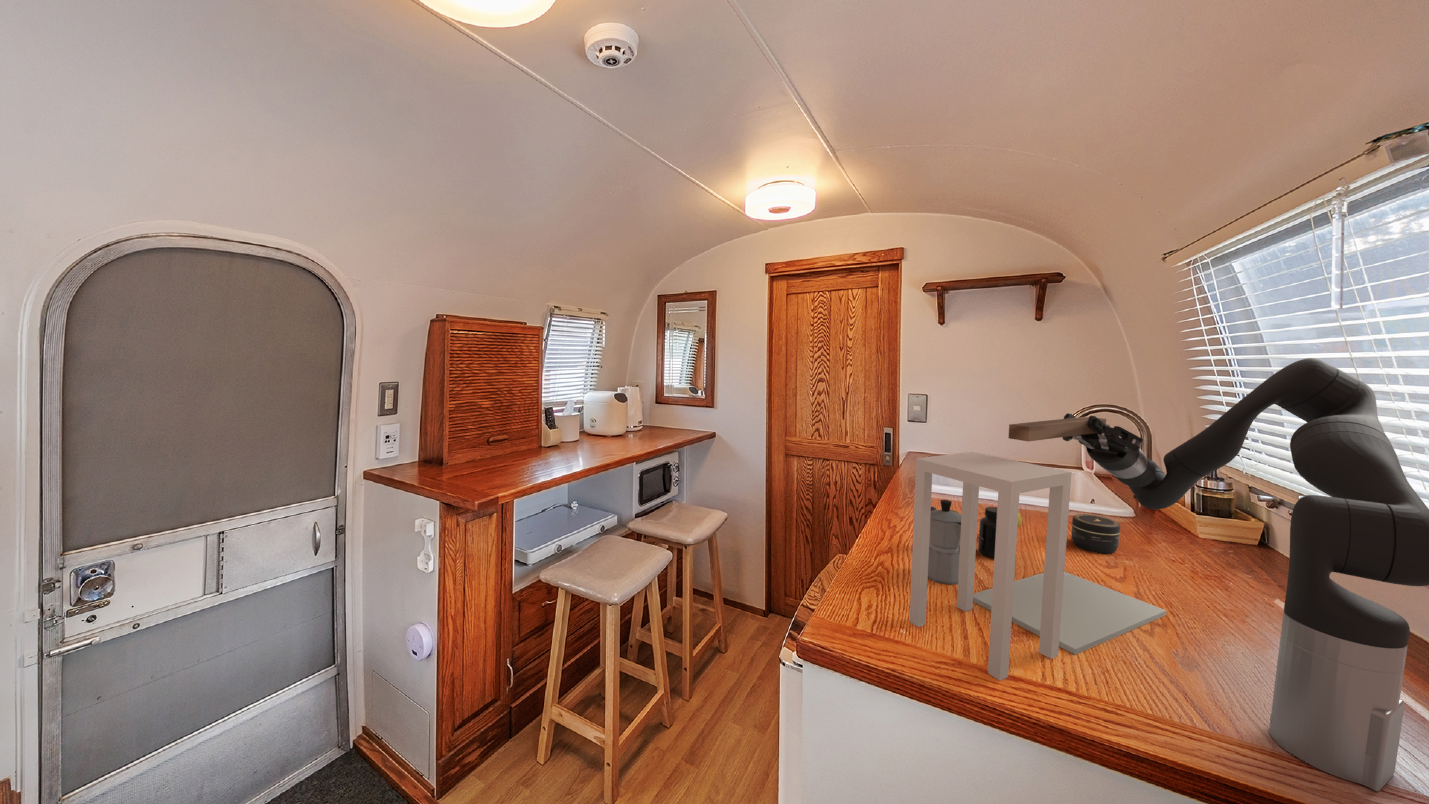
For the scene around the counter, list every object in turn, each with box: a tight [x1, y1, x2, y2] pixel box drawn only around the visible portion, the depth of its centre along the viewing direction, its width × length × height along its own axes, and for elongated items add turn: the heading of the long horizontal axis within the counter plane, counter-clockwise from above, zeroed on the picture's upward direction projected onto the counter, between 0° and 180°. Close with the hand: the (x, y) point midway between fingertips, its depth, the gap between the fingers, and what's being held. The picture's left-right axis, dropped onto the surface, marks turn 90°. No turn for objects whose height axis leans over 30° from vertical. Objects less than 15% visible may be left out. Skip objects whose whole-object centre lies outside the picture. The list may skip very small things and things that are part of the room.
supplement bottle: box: [977, 506, 997, 560], centre depth 119 cm, size 7×7×12 cm
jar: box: [1071, 513, 1121, 555], centre depth 124 cm, size 10×10×8 cm
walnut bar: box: [1008, 416, 1107, 442], centre depth 89 cm, size 4×24×3 cm, turn 114°
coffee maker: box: [928, 499, 962, 586], centre depth 108 cm, size 15×9×18 cm, turn 22°
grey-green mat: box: [973, 570, 1167, 656], centre depth 95 cm, size 20×30×1 cm, turn 114°
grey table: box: [909, 451, 1073, 682], centre depth 83 cm, size 18×15×32 cm
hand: (1078, 419), depth 91 cm, fingers closed on walnut bar, 3 cm apart
